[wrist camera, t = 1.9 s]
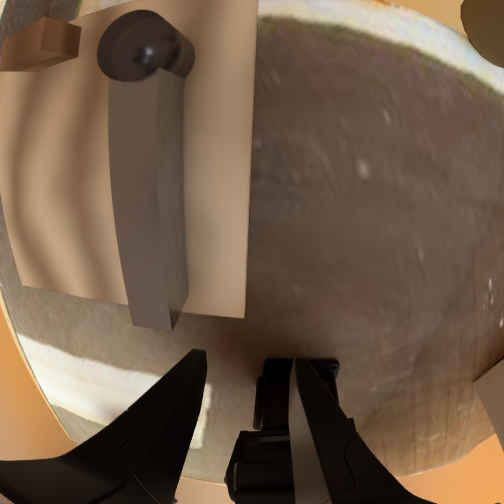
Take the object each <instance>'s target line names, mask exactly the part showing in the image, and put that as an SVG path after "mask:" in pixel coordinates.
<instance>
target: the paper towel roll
mask: <svg viewBox="0 0 504 504" xmlns="http://www.w3.org/2000/svg"><path fill="white" fill-rule="evenodd" d="M473 386H474V388H475V389H476V391H477V393H478V395H479V397H480V399H481V401H482V404H483V406H484V408H485V410H486V412H487V414H488V416H489V418H490V421H491V423H492V425H493V427H494V430H495V432H496V434H497V437H498V439H499V441H500V444H501V446H502V449H503V451H504V359H503V360H501V361H500V362H499V363H498V364H496V365H495V366H494V367H492V368H491V369H490V370H489V371H488V372H487V374H486V375H485V376H484V377H482V378H481V379H480V380H479V381H478V382H476V383H475V384H473Z"/></svg>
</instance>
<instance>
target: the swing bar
mask: <svg viewBox="0 0 504 504" xmlns="http://www.w3.org/2000/svg"><path fill="white" fill-rule="evenodd" d="M97 62H98V65H99V68H100V69H101V71H102V72H103V73H104V74H105V75H106V76H107V77H109V88H108V148H109V168H110V182H111V194H112V204H113V214H114V222H115V230H116V237H117V244H118V251H119V257H120V263H121V269H122V274H123V280H124V285H125V290H126V295H127V300H128V304H129V309H130V313H131V318H132V322H133V326H139V327H145V328H152V329H158V330H165V331H173V328H174V326H175V324H176V322H177V320H178V317H179V315H180V313H181V311H182V309H183V306H184V304H185V302H186V300H187V298H188V296H189V285H188V272H187V257H186V240H185V218H184V186H183V112H184V82H185V78H186V77H187V76H188V74H189V73H190V71H191V70H192V68H193V65H194V62H195V49H194V46H193V45H192V43H191V41H190V40H189V39H188V38H187V37H185V36H184V35H183V34H182V33H181V32H180V31H178V30H177V29H176V28H175V27H174V26H173V25H171V24H170V23H169V22H168V21H166V20H165V19H164V18H163V17H162V16H160V15H159V14H157V13H156V12H154V11H151V10H144V9H142V10H134V11H130V12H128V13H125V14H123V15H122V16H120V17H118V18H117V19H116V20H114V21H113V22H112V23H111V24H110V25H109V26H108V28H107V29H106V30H105V32H104V33H103V35H102V37H101V39H100V41H99V44H98V48H97Z"/></svg>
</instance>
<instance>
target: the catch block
mask: <svg viewBox="0 0 504 504" xmlns="http://www.w3.org/2000/svg"><path fill="white" fill-rule="evenodd" d="M81 29H82V27H79V26H76V25H73V24H70V23H67V22H64V21H60V20H57V19H53V18H50V17H44V18H42V19H40V20H38V21H36V22H34V23H32V24H30V25H28V26H26V27H25V28H23V29H21V30H19V31H17V32H16V33H14V34H12V35H11V36H9V37H7V38H6V39H4V40H3V44H2V51H1V58H0V72H38V71H40V70H43V69H46V68H48V67H51V66H54V65H56V64H59V63H62V62H65V61H68V60H71V59H74V58H77V57H78V53H79V44H80V36H81Z"/></svg>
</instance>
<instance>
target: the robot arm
mask: <svg viewBox="0 0 504 504" xmlns="http://www.w3.org/2000/svg"><path fill="white" fill-rule="evenodd" d="M333 366H334V367H333ZM339 369H340V365H339V362H338V361H319V360H308V359H307V358H305V357H295V358H294V359H293V360H289V359H271V358H270V359H266V360H265V361H264V369H263V377H259V378H258V379H257V387H256V398H255V409H254V420H253V428H254V429H255V430H260V431H240V434H239V437H238V439H237V441H236V444H235V447H234V450H233V453H232V456H231V459H230V462H229V465H228V468H227V471H226V476H225V478H224V482H225V484H226V485H227V487H228V492H229V495H230V498H231V500H232V501H233V502H235V504H436V503H433V502H430V501H427V500H425V499H422V498H419V497H417V496H415V495H413V494H411V493H410V492H409V491H408V490H406V489H405V488H404V487H403V486H402V485H401V484H400V483H399V482H398V481H397V480H396V478H395V477H394V476H393V475H392V474H391V473H390V472H389V471H388V470H387V469H386V468H385V467H384V466H383V465H382V464H381V462H380V461H379V460H378V459H377V458H376V457H375V455H374V454H373V453H372V452H371V451H370V449H369V448H368V447H367V445H366V444H365V443H364V441H363V440H362V438H361V437H360V435H359V434H358V433H357V432H356V428H355V424H354V420H353V418H347V417H346V415H345V414H344V412H343V411H342V409H341V408H340V406H339V399H338V393H337V387H336V381H335V380H336V377H337V374H338V372H339ZM206 375H207V357H206V351H205V350H203V349H196V348H194V349H192V350H191V351H190V352H189V353H188V354H187V355H186V356H184V357H183V358H182V359H181V360H180V361H179V362H178V363H177V364H176V365H175V366H174V367H173V368H172V369H171V370H169V371H168V372H167V373H166V374H165V375H164V376H163V377H162V378H161V379H160V380H159V381H157V382H156V383H155V384H154V385H153V386H152V387H151V388H150V389H149V390H148V391H147V392H145V393H144V394H143V395H142V396H141V397H140V398H139V399H138V400H137V401H136V402H134V403H133V404H132V405H131V406H130V407H129V408H128V409H127V410H125V411H124V412H123V413H122V414H121V415H120V416H119V417H117V418H116V419H115V420H114V421H113V422H111V423H110V424H109V425H108V426H106V427H105V428H104V429H102V430H101V431H99V432H98V433H97V434H95V435H94V436H92V437H91V438H89V439H88V440H86V441H85V442H83V443H82V444H80V445H79V446H77V447H76V448H74V449H72V450H71V451H69V452H67V453H66V454H63V455H61V456H58V457H55V458H48V459H37V460H17V461H2V460H0V504H172V501H173V498H174V495H175V492H176V488H177V485H178V482H179V479H180V475H181V472H182V469H183V466H184V462H185V459H186V456H187V453H188V450H189V446H190V443H191V440H192V437H193V433H194V430H195V427H196V424H197V421H198V417H199V414H200V410H201V405H202V399H203V393H204V387H205V381H206ZM496 504H500V503H496Z"/></svg>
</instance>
